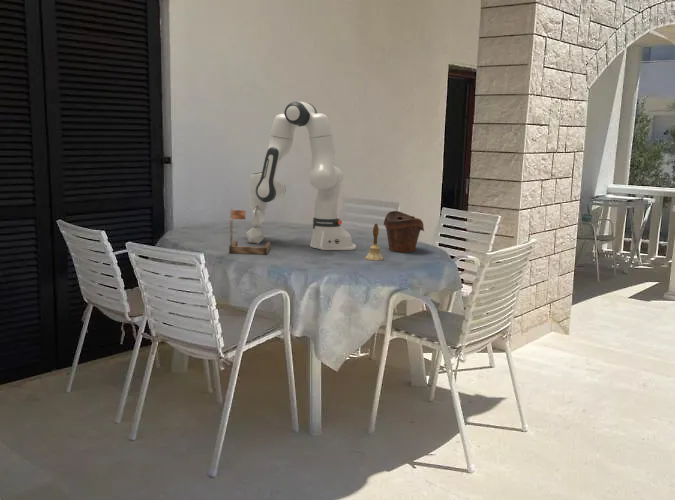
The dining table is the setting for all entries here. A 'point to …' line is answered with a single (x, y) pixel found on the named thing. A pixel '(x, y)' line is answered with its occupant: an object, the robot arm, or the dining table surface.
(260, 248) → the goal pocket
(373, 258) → the hand bell
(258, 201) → the robot arm
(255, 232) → the die
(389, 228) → the brown lidded bucket
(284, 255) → the dining table surface
